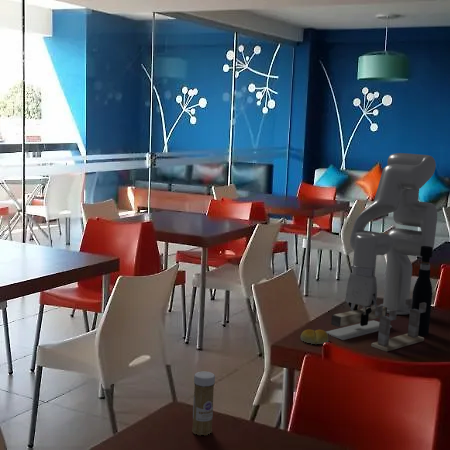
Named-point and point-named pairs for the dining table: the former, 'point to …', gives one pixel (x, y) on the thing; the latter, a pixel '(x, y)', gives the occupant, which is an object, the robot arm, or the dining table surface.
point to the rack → (402, 340)
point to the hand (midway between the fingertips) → (359, 323)
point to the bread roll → (314, 336)
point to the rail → (353, 317)
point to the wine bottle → (423, 291)
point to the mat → (355, 330)
